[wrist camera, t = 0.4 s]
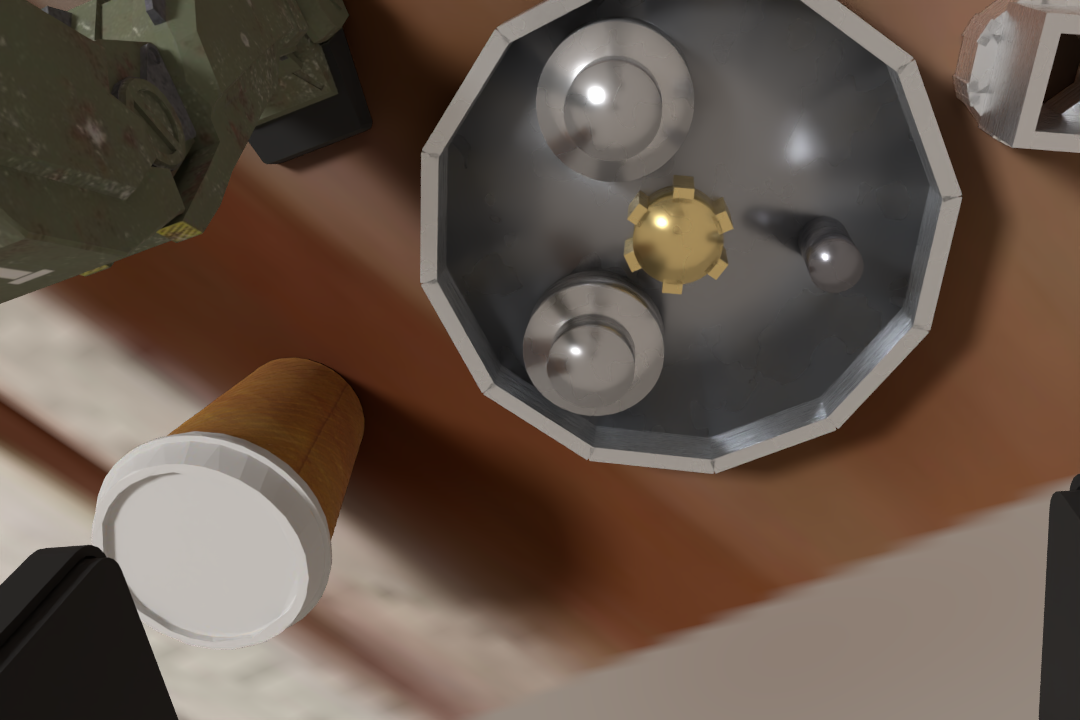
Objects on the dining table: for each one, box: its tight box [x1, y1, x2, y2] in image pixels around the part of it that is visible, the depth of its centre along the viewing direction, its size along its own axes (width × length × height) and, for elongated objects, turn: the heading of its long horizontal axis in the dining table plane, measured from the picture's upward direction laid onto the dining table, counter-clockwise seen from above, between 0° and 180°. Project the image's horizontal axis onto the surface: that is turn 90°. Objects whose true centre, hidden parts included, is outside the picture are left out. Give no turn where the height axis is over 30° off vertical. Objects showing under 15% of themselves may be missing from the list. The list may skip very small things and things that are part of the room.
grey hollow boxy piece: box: [953, 0, 1080, 153], centre depth 36 cm, size 6×6×6 cm
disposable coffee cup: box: [92, 358, 364, 649], centre depth 43 cm, size 10×10×12 cm
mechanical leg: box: [0, 0, 372, 304], centre depth 28 cm, size 14×7×30 cm, turn 21°
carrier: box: [420, 0, 962, 474], centre depth 41 cm, size 21×21×5 cm
